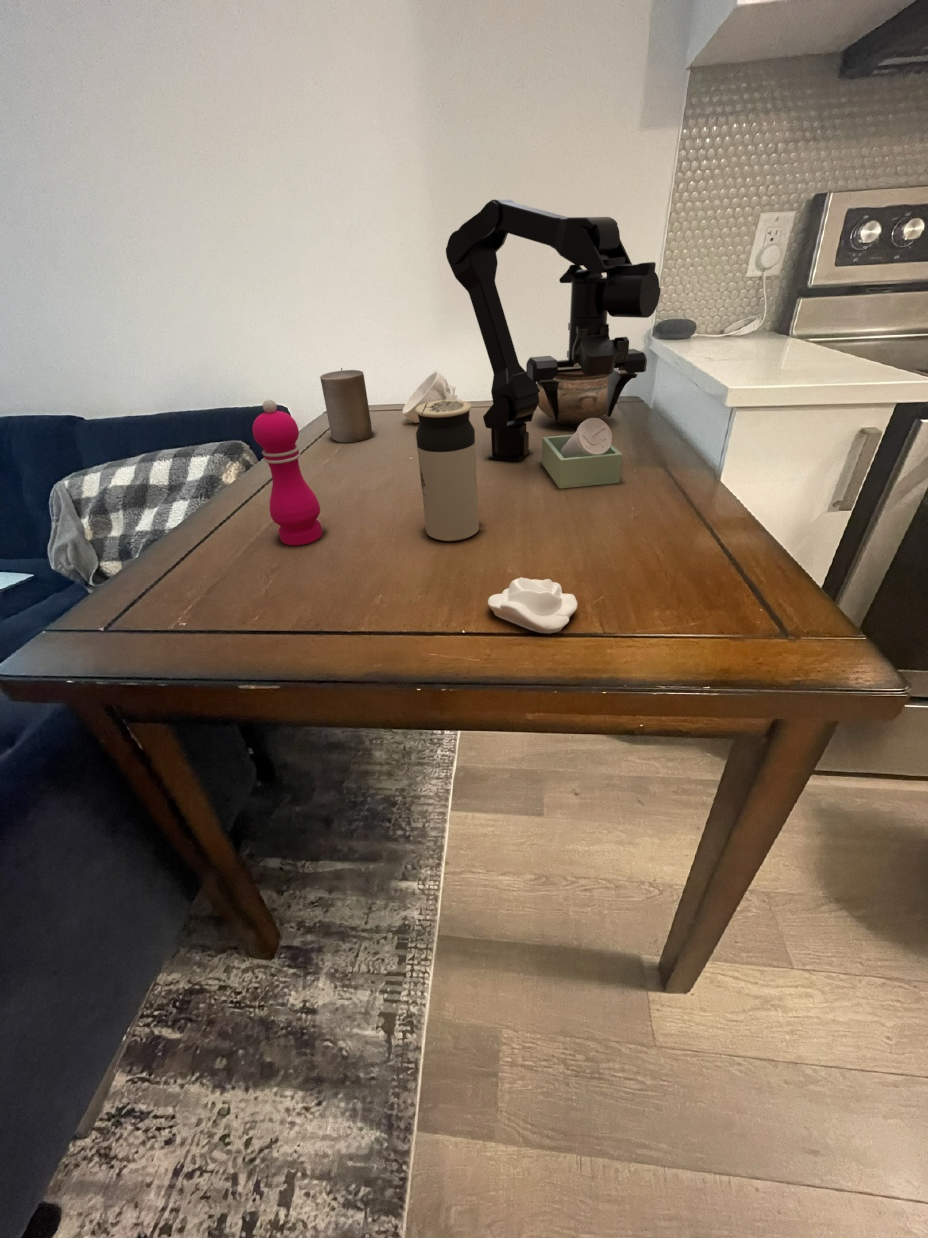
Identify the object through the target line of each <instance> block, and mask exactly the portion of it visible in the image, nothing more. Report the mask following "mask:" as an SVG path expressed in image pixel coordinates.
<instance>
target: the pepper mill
mask: <svg viewBox="0 0 928 1238" xmlns="http://www.w3.org/2000/svg"><path fill="white" fill-rule="evenodd" d="M262 409H263V411H264V412H262V413H260V414H259V415H258V416H257V417H256V418H255V420H254V421H253V423H252V434H253V438H254V441H255V442H256V444H258V445H259V446H260V447H262V451H261V454H262V455H263V462H265V463H267V465H268V467H269V469H270V473H271V478H272V484H271V485H272V486H271V492H270V496H269V497H270V498H269V508H268V509H269V513H270V518H271V520H272V521H273V522H274V523H275V524H277V525H278V526H279V527H278V534H279V538H280V541H281V542H282V543H283V544H285V545H287V546H303V545H307V544H311V543H314V542H316V541H317V540H319V539H320V538H321V537H322V535H323V530H322V525H321V522H320V521H319V520H318V518H319V516H320V513H321V506H320V502H319V500H318V498H317V496H316V494H315V492H314V491H313V490H312V489H311V487H310V486H309V485H308V483H307V482H306V480H305V478H304V477H303V474H302V472H301V469H300V463H299V462H300V461H299V458H300V457H301V453H300V450H299V449H300V447H299V445H298V444H296V443H297V441H298V439H299V435H300V430H299V427H298V424H297V422H296V420H295V418H294V417H293V416H292V415H290V414H289V413H287V412H285V411H281V410H277V409H278V405H277V403H276V402H275V400H273V399H270V398H269V399H265V400H264V401H263V403H262Z"/></svg>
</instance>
